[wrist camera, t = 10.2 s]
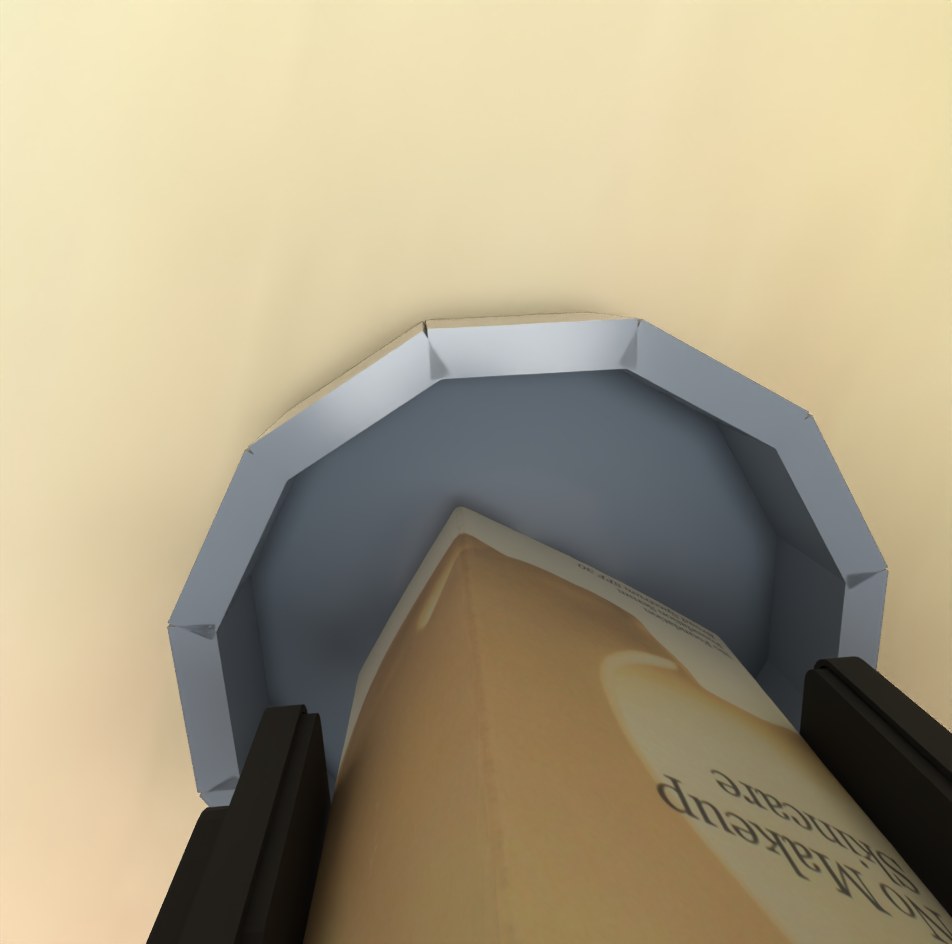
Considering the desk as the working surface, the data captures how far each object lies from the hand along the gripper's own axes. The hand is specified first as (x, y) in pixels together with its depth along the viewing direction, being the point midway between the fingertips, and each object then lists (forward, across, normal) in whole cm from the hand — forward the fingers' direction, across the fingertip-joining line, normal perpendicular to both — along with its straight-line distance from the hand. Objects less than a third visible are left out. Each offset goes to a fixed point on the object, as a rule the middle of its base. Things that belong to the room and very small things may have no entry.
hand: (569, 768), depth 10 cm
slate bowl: (+6, 0, 0) cm, 6 cm away
